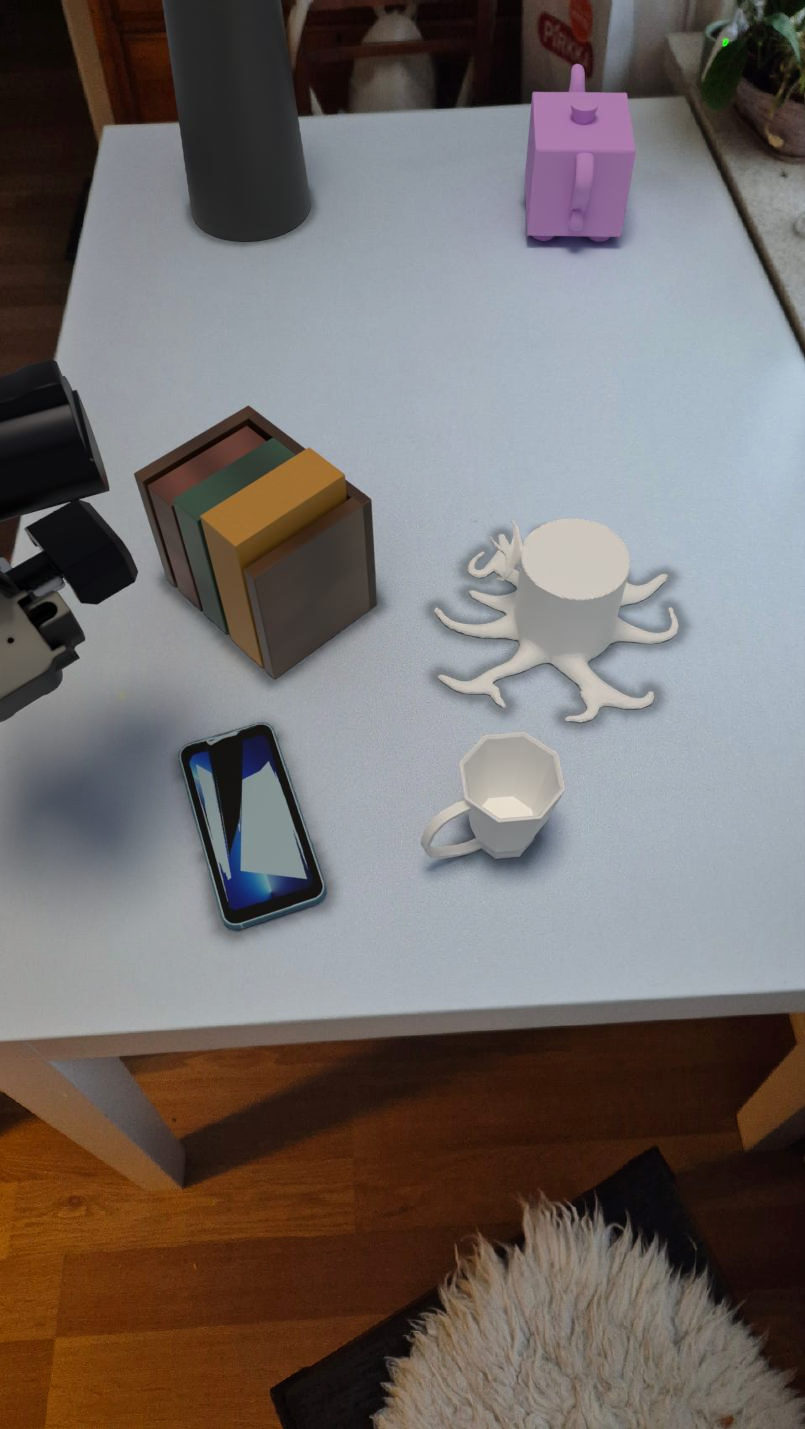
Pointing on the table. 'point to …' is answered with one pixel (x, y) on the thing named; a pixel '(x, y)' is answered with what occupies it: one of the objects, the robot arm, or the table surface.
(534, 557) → the tree stump
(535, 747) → the cup
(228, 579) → the ochre book
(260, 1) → the vase
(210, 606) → the bookshelf
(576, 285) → the table surface
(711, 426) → the table surface
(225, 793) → the smartphone
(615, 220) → the teapot
